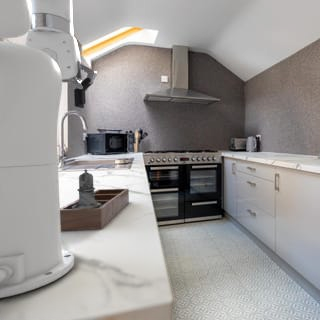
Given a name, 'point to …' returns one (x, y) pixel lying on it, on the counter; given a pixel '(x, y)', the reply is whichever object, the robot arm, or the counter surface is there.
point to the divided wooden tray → (94, 210)
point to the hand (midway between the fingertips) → (56, 106)
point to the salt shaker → (86, 192)
